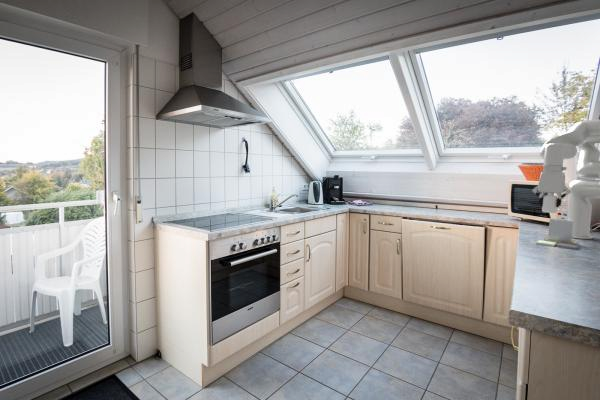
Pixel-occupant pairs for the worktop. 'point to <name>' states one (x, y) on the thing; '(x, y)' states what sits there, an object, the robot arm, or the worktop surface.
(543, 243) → the sage pad
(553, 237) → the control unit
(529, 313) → the worktop surface
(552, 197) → the eye dropper bottle
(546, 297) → the worktop surface
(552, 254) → the worktop surface
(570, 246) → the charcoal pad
